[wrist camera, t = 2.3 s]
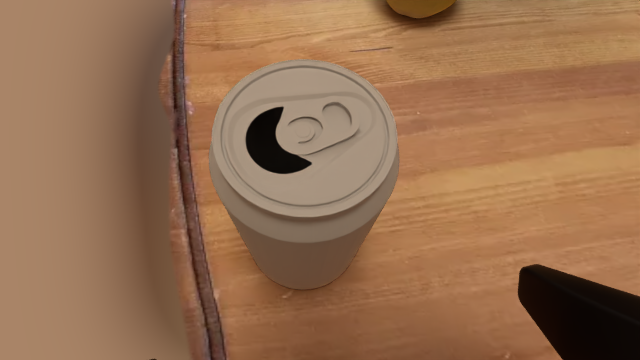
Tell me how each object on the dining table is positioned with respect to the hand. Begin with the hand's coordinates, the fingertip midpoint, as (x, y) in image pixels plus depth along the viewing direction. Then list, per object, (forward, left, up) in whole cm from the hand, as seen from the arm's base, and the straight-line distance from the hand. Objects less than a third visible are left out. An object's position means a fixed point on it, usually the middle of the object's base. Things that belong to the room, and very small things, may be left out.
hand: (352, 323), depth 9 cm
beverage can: (+5, +2, -12) cm, 13 cm away
